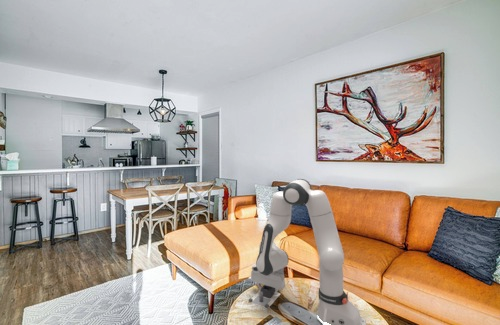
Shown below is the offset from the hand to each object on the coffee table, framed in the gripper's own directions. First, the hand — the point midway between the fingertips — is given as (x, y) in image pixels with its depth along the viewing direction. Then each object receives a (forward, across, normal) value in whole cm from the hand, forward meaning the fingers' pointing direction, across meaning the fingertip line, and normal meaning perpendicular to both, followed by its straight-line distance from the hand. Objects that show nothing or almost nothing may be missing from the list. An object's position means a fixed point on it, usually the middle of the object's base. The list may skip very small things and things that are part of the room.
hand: (267, 292), depth 143 cm
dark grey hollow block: (+1, 0, 0) cm, 1 cm away
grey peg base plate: (+3, 0, +4) cm, 4 cm away
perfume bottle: (+3, 0, -10) cm, 10 cm away
